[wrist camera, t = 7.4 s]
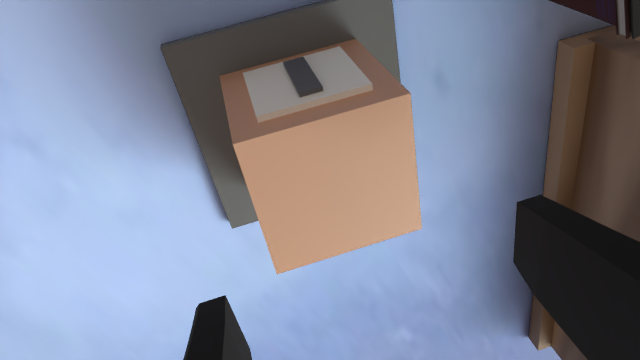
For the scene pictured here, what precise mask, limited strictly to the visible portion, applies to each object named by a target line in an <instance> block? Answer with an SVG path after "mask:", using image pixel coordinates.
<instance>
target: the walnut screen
mask: <svg viewBox="0 0 640 360" xmlns="http://www.w3.org/2000/svg"><path fill="white" fill-rule="evenodd" d="M543 196H544V197H546V198H548V199H551V200H553V201H555V202H557V203H559V204H561V205H563V206H565V207H567V208H569V209H571V210H574V211H576V212H578V213H580V214H582V215H584V216H586V217H588V218H590V219H592V220H594V221H596V222H598V223H600V224H602V225H605V226H607V227H609V228H611V229H613V230H615V231H617V232H619V233H622V234H624V235H626V236H628V237H630V238H632V239H635V240H637V241H639V242H640V36H639V37H637V38H635V39H632V37H630V38H628V39H626V36H624V35H622V34H619V35H616V25H611V26H608V27H604V28H601V29H598V30H594V31H591V32H587V33H584V34H580V35H577V36H573V37H570V38H567V39H563V40H560V41H558V50H557V60H556V70H555V80H554V90H553V100H552V110H551V120H550V130H549V141H548V151H547V161H546V171H545V181H544V191H543ZM529 339H530V340H531V342H532V343H533V344H534V346H535V347H536V348H537V350H541V349H544V348H547V347H550V346H552V348H553V349H554V350H555V352H556V353H557V354H558V356H559V357H560V358H561V359H562V360H587V358H586V357H585V356H584V355H583V354H582V353H581V351H580V350H579V349H578V348H577V347H576V345H575V344H574V343H573V342H572V341H571V339H570V338H569V337H568V336H567V335H566V333H565V332H564V331H563V330H562V329H561V327H560V326H559V325H558V324H557V323H556V321H555V320H554V319H553V318H552V317H551V315H550V314H549V313H548V312H547V311H546V309H545V308H544V307H543V306H542V304H541V303H540V302H539V301H538V299H537V298H536V297H535V295H534V294H533V301H532V311H531V321H530V331H529Z"/></svg>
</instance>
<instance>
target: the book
mask: <svg viewBox="0 0 640 360" xmlns="http://www.w3.org/2000/svg"><path fill="white" fill-rule="evenodd" d="M549 1H552V2H555V3H557V4H560V5H563V6H565V7H568V8H571V9H573V10H576V11H579V12H581V13H584V14H587V15H589V16H592V17H595V18H597V19H600V20H602V21H605V22H608V23H610V24H613V25H616V35H619V34H622V35H624V36H626V39H628V38H630V37H632V39H635V38H637V37H639V36H640V0H549Z"/></svg>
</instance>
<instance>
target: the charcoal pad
mask: <svg viewBox="0 0 640 360" xmlns="http://www.w3.org/2000/svg"><path fill="white" fill-rule="evenodd" d="M353 39H357V40H358V41H359V42H360V43H361V44H362V45H363V46H364V47H365V48H366V49H367V50H368V51H369V52H370V53H371V54H372V55H373V56H374V57H375V58H376V59H377V60H378V61H379V62H380V63H381V64H382V65H383V66H384V67H385V68H386V69H387V70H388V71H389V72H390V73H391V74H392V75H393V76H394V77H395V78H396V79H397V80H398V81H399V82H400V73H399V63H398V53H397V43H396V33H395V23H394V13H393V3H392V0H325V1H321V2H317V3H314V4H310V5H306V6H303V7H299V8H295V9H291V10H288V11H284V12H280V13H277V14H273V15H269V16H265V17H262V18H258V19H254V20H251V21H247V22H243V23H240V24H236V25H232V26H228V27H225V28H221V29H217V30H214V31H210V32H206V33H202V34H199V35H195V36H191V37H188V38H184V39H180V40H177V41H173V42H169V43H165V44H162V45H161V50H162V53H163V55H164V58H165V60H166V63H167V65H168V68H169V70H170V73H171V75H172V78H173V81H174V83H175V86H176V88H177V91H178V93H179V96H180V98H181V101H182V103H183V106H184V108H185V111H186V113H187V116H188V118H189V121H190V123H191V126H192V128H193V131H194V134H195V136H196V139H197V141H198V144H199V146H200V149H201V151H202V154H203V156H204V159H205V161H206V164H207V166H208V169H209V171H210V174H211V176H212V179H213V182H214V184H215V187H216V189H217V192H218V194H219V197H220V199H221V202H222V204H223V207H224V209H225V212H226V214H227V217H228V219H229V222H230V224H231V227H232V229H233V228H236V227H239V226H242V225H246V224H249V223H252V222H255V221H259V220H258V217H257V214H256V211H255V208H254V205H253V202H252V199H251V196H250V193H249V191H248V188H247V185H246V182H245V179H244V176H243V173H242V170H241V167H240V164H239V161H238V158H237V155H236V152H235V150H234V147H233V143H232V138H231V133H230V128H229V123H228V118H227V112H226V107H225V102H224V97H223V92H222V87H221V82H220V77H219V76H221V75H225V74H228V73H232V72H236V71H239V70H243V69H247V68H250V67H254V66H258V65H261V64H265V63H269V62H272V61H276V60H280V59H283V58H287V57H291V56H294V55H298V54H302V53H305V52H309V51H313V50H316V49H320V48H324V47H327V46H331V45H334V44H338V43H342V42H345V41H349V40H353Z"/></svg>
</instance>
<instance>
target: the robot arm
mask: <svg viewBox="0 0 640 360" xmlns="http://www.w3.org/2000/svg"><path fill="white" fill-rule="evenodd" d="M513 262H514V264H515V265H516V267H517V269H518V270H519V272H520V274H521V275H522V277H523V278H524V280H525V282H526V283H527V285H528V286H529V288H530V289H531V291H532V292H533V294H534V295H535V297H536V298H537V299H538V301H539V302H540V303H541V304H542V306H543V307H544V308H545V309H546V311H547V312H548V313H549V314H550V315H551V317H552V318H553V319H554V320H555V321H556V323H557V324H558V325H559V326H560V327H561V329H562V330H563V331H564V332H565V333H566V335H567V336H568V337H569V338H570V339H571V341H572V342H573V343H574V344H575V345H576V347H577V348H578V349H579V350H580V351H581V353H582V354H583V355H584V356H585V357H586V358H587V360H640V242H639V241H637V240H635V239H632V238H630V237H628V236H626V235H624V234H622V233H619V232H617V231H615V230H613V229H611V228H609V227H607V226H605V225H602V224H600V223H598V222H596V221H594V220H592V219H590V218H588V217H586V216H584V215H582V214H580V213H578V212H576V211H574V210H571V209H569V208H567V207H565V206H563V205H561V204H559V203H557V202H555V201H553V200H551V199H548V198H546V197H544V196H542V195H538V196H535V197H532V198H529V199H526V200H523V201H519V202H517V211H516V228H515V245H514V261H513ZM183 360H252V357H251V352H250V348H249V346H248V344H247V342H246V339H245V337H244V335H243V333H242V331H241V328H240V326H239V324H238V322H237V320H236V318H235V315H234V313H233V311H232V309H231V307H230V304H229V302H228V300H227V298H226V296H222V297H218V298H215V299H212V300H209V301H206V302H203V303H200V304H199V305H198V306H197V308H196V311H195V316H194V321H193V325H192V329H191V333H190V337H189V341H188V345H187V349H186V352H185V356H184V359H183Z"/></svg>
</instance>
